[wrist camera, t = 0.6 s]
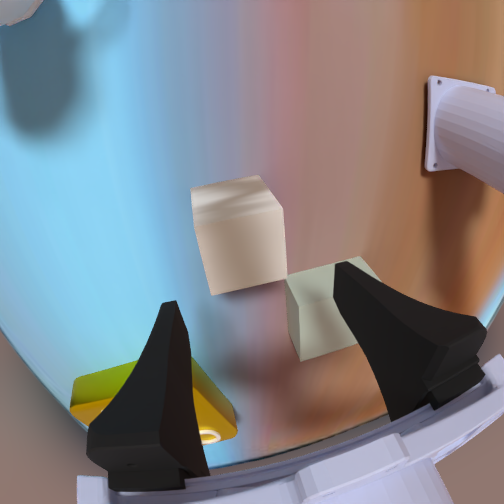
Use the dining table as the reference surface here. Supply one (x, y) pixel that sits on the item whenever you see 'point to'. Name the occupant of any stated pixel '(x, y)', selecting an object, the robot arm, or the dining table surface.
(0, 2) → the cup
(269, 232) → the ash block
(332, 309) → the sage base block
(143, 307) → the dining table surface
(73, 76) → the dining table surface
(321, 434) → the dining table surface
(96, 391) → the element tile
